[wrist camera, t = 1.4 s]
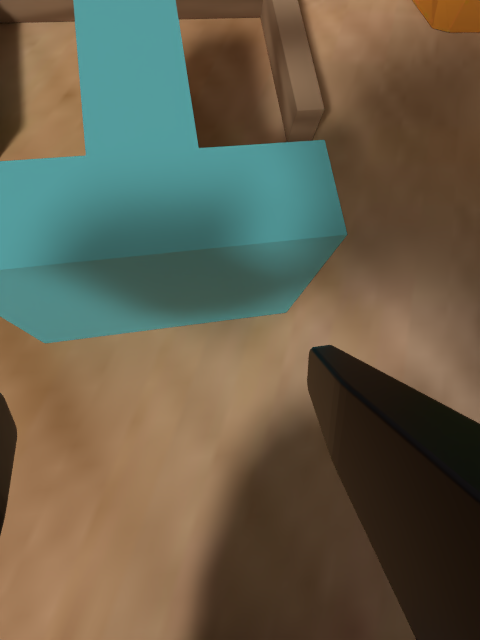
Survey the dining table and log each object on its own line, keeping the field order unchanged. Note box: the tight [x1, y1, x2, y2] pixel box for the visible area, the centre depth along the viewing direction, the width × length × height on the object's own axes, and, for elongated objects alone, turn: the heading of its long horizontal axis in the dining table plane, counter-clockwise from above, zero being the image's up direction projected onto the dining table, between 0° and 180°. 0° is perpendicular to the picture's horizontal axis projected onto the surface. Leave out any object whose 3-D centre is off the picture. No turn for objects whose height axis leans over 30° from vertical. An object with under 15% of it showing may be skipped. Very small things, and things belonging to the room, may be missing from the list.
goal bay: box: [0, 0, 324, 142], centre depth 24 cm, size 11×19×2 cm, turn 99°
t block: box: [0, 0, 347, 343], centre depth 18 cm, size 10×12×9 cm
